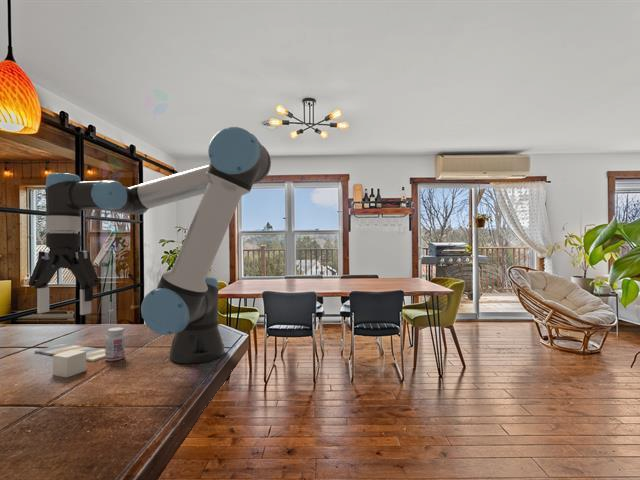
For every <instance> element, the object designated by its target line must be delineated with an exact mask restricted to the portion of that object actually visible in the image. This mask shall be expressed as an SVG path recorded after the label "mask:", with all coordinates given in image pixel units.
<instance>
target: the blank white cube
mask: <svg viewBox="0 0 640 480" xmlns="http://www.w3.org/2000/svg"><path fill="white" fill-rule="evenodd" d="M83 372H87V361H86V351H79V350H70V351H66V352H63V353H59V354H56V355H53V356H52V376H58V377H61V378H62V377H63V378H68V377H72V376H75V375H77V374H80V373H83Z"/></svg>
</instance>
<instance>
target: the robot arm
mask: <svg viewBox="0 0 640 480" xmlns="http://www.w3.org/2000/svg"><path fill="white" fill-rule="evenodd" d="M207 153H208V158H209V161H210V162H209V164H207V165H206V164H205V165H203V166H199V167H195V168H192V169H189V170H185V171H183V172H178V173H174V174H171V175H169V176H165V177H161V178H158V179H154V180H151V181H147V182H143V183H139V184H137V185H133V186H130V187H128V186H124V185H123V184H122V183H121V181H117V180H108V179H103V180H92V181H81V177H80V176H79V175H77V174H74V173H73V174H72V173H67V172H65V173H64V172H62V173H61V172H53V173H49V174H48V175H46V179H45V188H44V193H45V231H46V232H48V233H46V235H45V247H46V248H49V250H41V251H39V252H38V258H37V262H36V264H35V267H34V269H33V272H32V273H31V276H30V279H29V281H28V285H29V286H30V287H31V286H33V287H34V289H35V299H36V302H37V308H36V311H37V312H36V313H37V314H43V313H47V312H50V286H49V283H50V282H51V281H52V279H53V277H54V276H55V274H56V273H57V271H58V270H59V269H67V270H68V271H70V272H71V273H72V275H73V276H74V278H75V279H76V280H77V282H78V283H79V285H80V286H81V288H80V289H79V315H81V316H84V315H88V314H92V302H93V299H94V288H95V287H99V286H101V281H100V279H99V276H98V275H97V272H96V269H95V267H94V264H93V263H92V260H91V255H90V254H91V253H90V251H89V250H79V248H81V246H82V235H81V234H80V233H79V232H81V231H82V227H81V225H82V224H81V223H82V221H81V219H82V218H81V217H82V211H103V212H104V211H106V212H115V213H122V214H128V215H133V216H135V215H143V214H145V213H147V211H148V210H149V209H154V208H156V207H159V206H164V205H168V204H171V203H175V202H178V201H182V200H186V199H188V198H192V197H198V196H200V195H202V196H201V197H202V198H201V200H200V202H199V205H198V207H197V209H196V211H195V214H194V215H193V218H192V221H191V224H190V226H189V228H188V230H187V232H186V235H185V236H184V237H185V238H184V240H183V241H182V245H181V247H180V249H179V251H178V254H177V256H176V259H175V261H174V263H173V265H172V268H171V269H170V270H169V269H168V270H166V271H164V272H163V273H162V274H161V277H160V279H159V282H158V284H157V287H156V288H154V289H152V290H151V291H149V292H148V293H146V295H145V296H144V298H143V300H142V302H141V306H140V313H141V318H142V319H143V321H144V324H145V325H146V327H148V329H150V330H151V331H152V332H154V333H156V334H158V335H162V336H171V335H173V334H174V337H173V340H172V342H171V347H170V349H169V360H170V361H172V362H174V363H178V364H188V365H189V364H199V363H207V362H211V361H215V360H217V359H219V358H221V357H223V356H224V354H225V345H224V343H223V339H222V336H221V332H220V330H219V291H220V290H219V282H218V279H217V278H216V277H210V276H209V277H208V274H209V272H210V270H211V268H212V266H213V263H214V261H215V258H216V256H217V254H218V251H219V249H220V246H221V244H222V243H223V240H224V238H225V235H226V233H227V230H228V229H229V226H230V224H231V221H232V218H233V217H234V214H235V211H236V210H237V207H238V205H239V202H240V200H241V198H242V197H243V196H244V195H247V194H249V193H250V192H251V190H252V187H253V185H255V184H257V183H260V182H262V181H264V179H265V178H266V177H267V176H268V175H269V172H270V170H271V164H272V161H271V160H272V159H271V156H270V154H269V151H268V150H267V148H266V147H265V146H264V145H262V143H261V142H260V141H259V140H258V138H257V137H256V135H254V134H253V133H251V132H249V131H248V130H247V129H244V128H241V127H238V126H230V127H227V128H224V129H223V128H222V129H221V130H219V131H218V132H216V133H215V135H214V136H213V137H212V138H211V140H210V142H209V145H208V152H207Z"/></svg>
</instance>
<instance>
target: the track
mask: <svg viewBox="0 0 640 480" xmlns="http://www.w3.org/2000/svg"><path fill="white" fill-rule="evenodd" d="M70 350H79V351H86V362H87V361H88V362H96V361H99V360H100V361H101V360H102V359H105V349H103V348H97V347H90V346H82V345H74V344H67V343H66V344H65V343H60V344H55V345H53V346H49V347H48V346H47V347H45V348H41V349H37V350H34V354H38V353H39V355H45V356H46V355H47V356H52V357H53V355H56V354H59V353H63V352H66V351H70Z"/></svg>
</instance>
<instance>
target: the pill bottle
mask: <svg viewBox="0 0 640 480" xmlns="http://www.w3.org/2000/svg"><path fill="white" fill-rule="evenodd" d="M124 329H125V328H124V327H120V326H119V327H111V328H108V329H107V336H106V337H105V358H104V359H105V360H106V361H110V362H113V361H114V362H115V361H119V360H121V359H124V357H125V346H126V345H125V344H126V343H125V342H126V341H125V339H126V336H125V334H124V333H125V332H124V331H125V330H124Z"/></svg>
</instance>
